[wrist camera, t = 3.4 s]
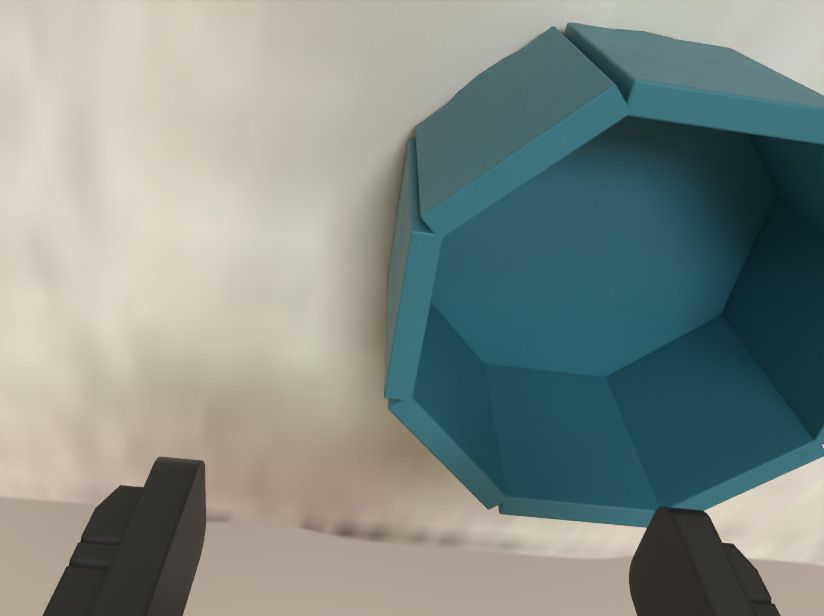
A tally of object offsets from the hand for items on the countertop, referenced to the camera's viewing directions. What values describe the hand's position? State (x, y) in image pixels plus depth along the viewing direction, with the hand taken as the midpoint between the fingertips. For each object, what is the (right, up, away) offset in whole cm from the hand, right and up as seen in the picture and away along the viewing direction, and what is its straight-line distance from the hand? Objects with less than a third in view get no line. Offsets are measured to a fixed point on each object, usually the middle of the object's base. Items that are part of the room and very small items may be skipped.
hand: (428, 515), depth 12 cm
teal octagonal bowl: (+6, +7, +13) cm, 15 cm away
